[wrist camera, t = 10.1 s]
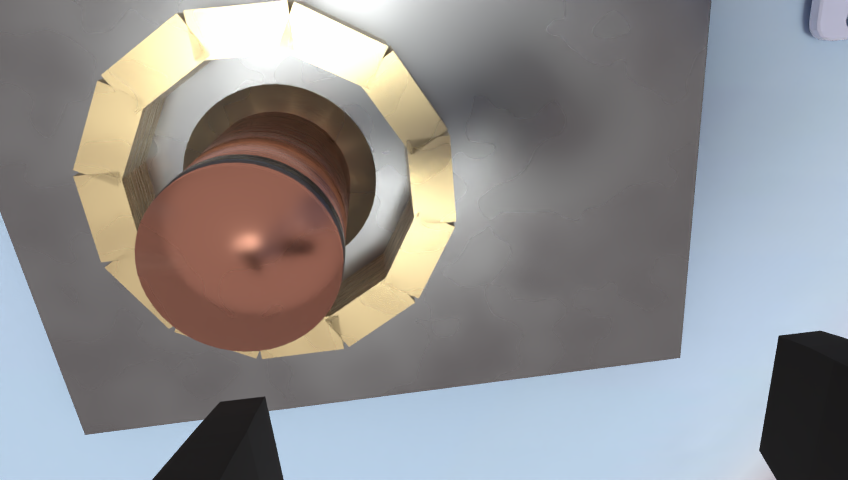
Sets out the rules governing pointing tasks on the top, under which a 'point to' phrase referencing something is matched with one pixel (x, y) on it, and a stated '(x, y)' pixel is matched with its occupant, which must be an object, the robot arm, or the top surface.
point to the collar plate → (363, 185)
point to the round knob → (249, 235)
